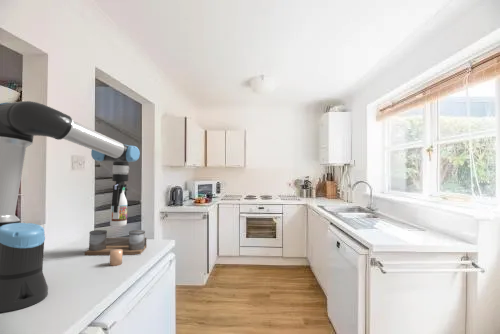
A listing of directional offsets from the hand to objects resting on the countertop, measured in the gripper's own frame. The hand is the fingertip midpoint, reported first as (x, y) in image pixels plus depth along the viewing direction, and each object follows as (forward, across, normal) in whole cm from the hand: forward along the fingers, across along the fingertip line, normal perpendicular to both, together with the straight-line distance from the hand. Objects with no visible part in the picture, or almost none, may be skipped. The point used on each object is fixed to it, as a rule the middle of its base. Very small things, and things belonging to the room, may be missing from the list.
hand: (118, 217), depth 137 cm
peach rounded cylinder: (+18, -20, -6) cm, 27 cm away
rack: (+18, 0, 0) cm, 18 cm away
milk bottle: (+4, 0, 0) cm, 4 cm away
